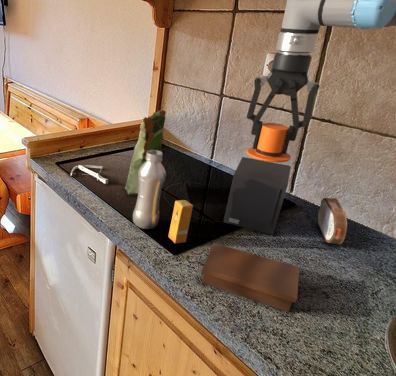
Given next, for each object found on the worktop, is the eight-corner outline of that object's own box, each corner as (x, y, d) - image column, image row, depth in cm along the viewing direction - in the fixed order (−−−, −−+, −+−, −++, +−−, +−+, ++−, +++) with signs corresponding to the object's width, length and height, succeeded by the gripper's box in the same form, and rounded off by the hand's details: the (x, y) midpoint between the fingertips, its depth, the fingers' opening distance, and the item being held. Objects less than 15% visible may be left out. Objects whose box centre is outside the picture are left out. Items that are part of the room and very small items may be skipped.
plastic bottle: (138, 216, 108) (147, 145, 99) (162, 224, 104) (173, 152, 96) (127, 226, 103) (135, 152, 95) (151, 235, 100) (162, 159, 91)
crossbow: (62, 173, 135) (62, 167, 134) (92, 166, 141) (92, 160, 141) (90, 188, 123) (90, 181, 122) (122, 180, 129) (122, 174, 128)
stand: (294, 282, 84) (299, 267, 82) (291, 314, 75) (297, 297, 74) (210, 257, 92) (213, 242, 90) (199, 283, 83) (202, 267, 81)
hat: (291, 153, 103) (299, 124, 100) (289, 165, 95) (297, 134, 92) (249, 146, 108) (255, 118, 105) (243, 157, 100) (250, 127, 97)
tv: (277, 212, 112) (291, 165, 106) (272, 236, 101) (287, 185, 95) (232, 201, 117) (242, 156, 112) (222, 222, 106) (233, 174, 100)
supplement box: (187, 242, 97) (194, 205, 93) (174, 244, 96) (181, 207, 92) (180, 235, 100) (186, 199, 96) (167, 236, 99) (173, 200, 95)
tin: (341, 251, 95) (353, 220, 92) (326, 248, 96) (337, 217, 93) (326, 221, 108) (336, 193, 105) (312, 219, 109) (322, 191, 106)
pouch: (153, 184, 127) (164, 105, 116) (167, 201, 116) (181, 116, 106) (119, 185, 126) (127, 106, 115) (130, 203, 115) (139, 117, 104)
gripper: (246, 51, 92) (226, 147, 102) (344, 58, 84) (312, 162, 94) (250, 48, 98) (231, 139, 108) (342, 54, 90) (313, 152, 100)
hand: (269, 149), depth 101 cm, fingers closed on hat, 6 cm apart
